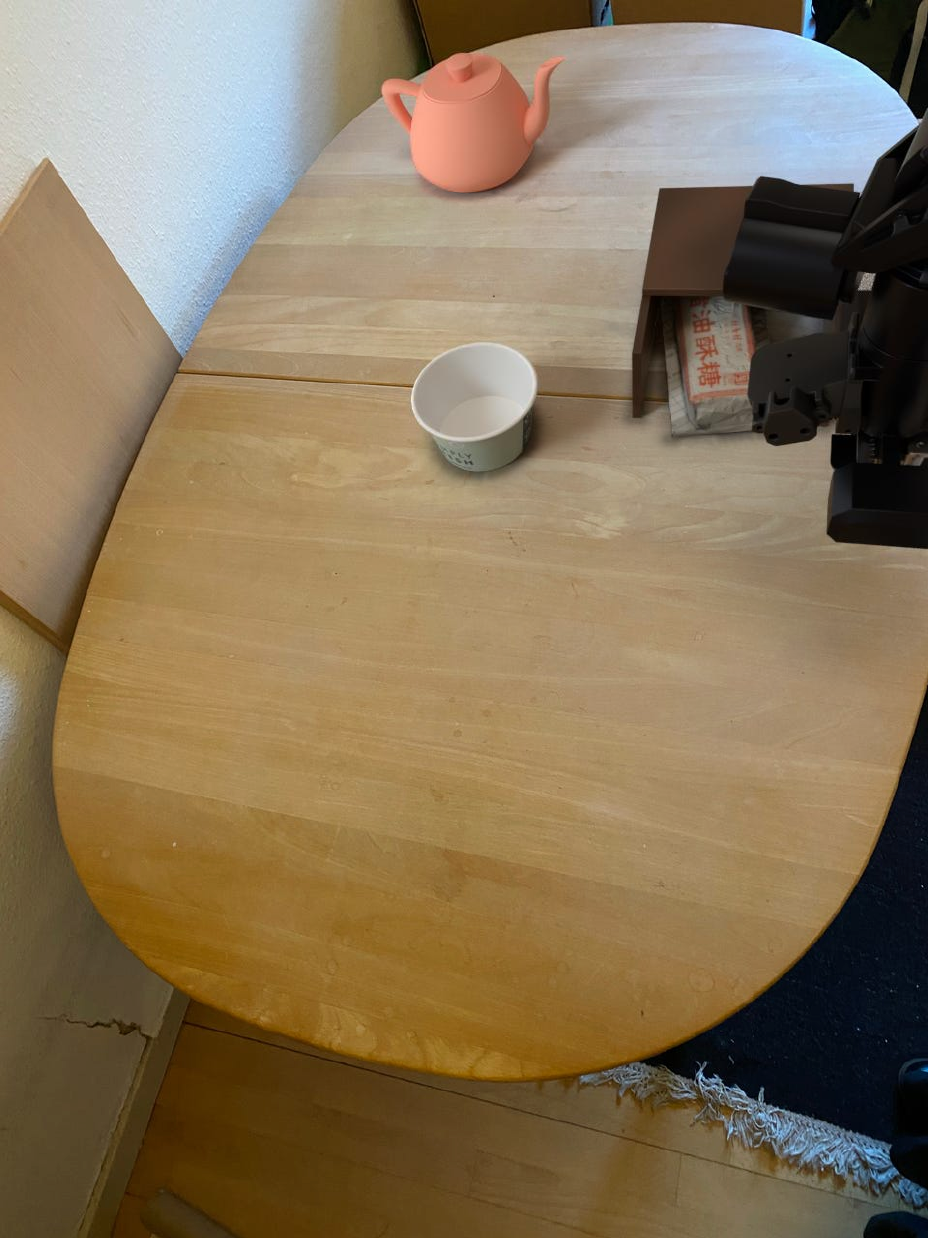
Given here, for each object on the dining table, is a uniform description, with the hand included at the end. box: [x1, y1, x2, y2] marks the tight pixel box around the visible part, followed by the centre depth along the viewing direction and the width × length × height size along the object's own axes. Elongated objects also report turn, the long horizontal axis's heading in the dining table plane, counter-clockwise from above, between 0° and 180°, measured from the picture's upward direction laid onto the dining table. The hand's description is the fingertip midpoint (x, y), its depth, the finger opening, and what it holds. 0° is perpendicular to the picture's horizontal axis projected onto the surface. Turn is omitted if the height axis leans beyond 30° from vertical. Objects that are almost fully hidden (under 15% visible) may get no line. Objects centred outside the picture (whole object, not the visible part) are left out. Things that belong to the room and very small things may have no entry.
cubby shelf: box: [631, 182, 855, 427], centre depth 79 cm, size 18×21×9 cm
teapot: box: [381, 52, 565, 193], centre depth 98 cm, size 22×15×12 cm
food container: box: [410, 341, 539, 473], centre depth 80 cm, size 12×12×6 cm
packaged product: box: [660, 296, 772, 437], centre depth 80 cm, size 18×5×10 cm
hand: (859, 491), depth 59 cm, fingers closed
